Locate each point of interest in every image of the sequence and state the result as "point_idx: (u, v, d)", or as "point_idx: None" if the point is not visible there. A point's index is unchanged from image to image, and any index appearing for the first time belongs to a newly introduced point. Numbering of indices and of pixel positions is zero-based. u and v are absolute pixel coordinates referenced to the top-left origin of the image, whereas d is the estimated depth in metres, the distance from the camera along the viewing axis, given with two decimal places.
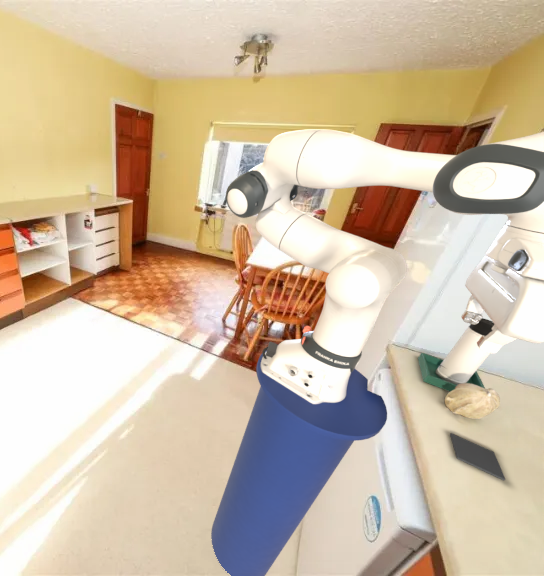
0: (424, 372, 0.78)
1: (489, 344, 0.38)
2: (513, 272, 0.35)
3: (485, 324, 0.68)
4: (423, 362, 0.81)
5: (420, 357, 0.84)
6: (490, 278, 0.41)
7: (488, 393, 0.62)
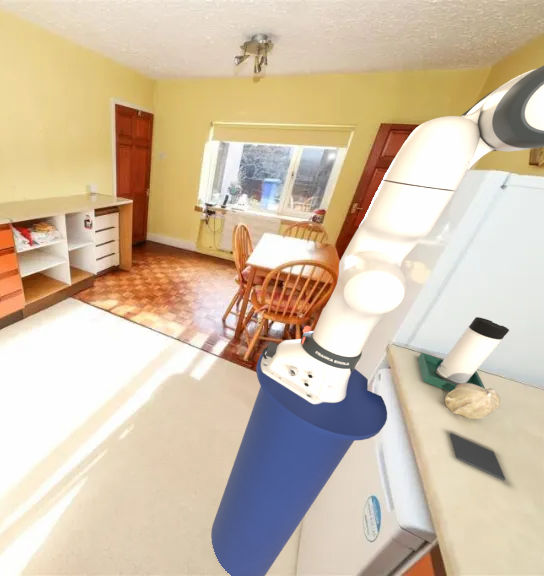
0: (424, 372, 0.78)
1: None
2: None
3: (485, 324, 0.68)
4: (423, 362, 0.81)
5: (420, 357, 0.84)
6: None
7: (488, 393, 0.62)
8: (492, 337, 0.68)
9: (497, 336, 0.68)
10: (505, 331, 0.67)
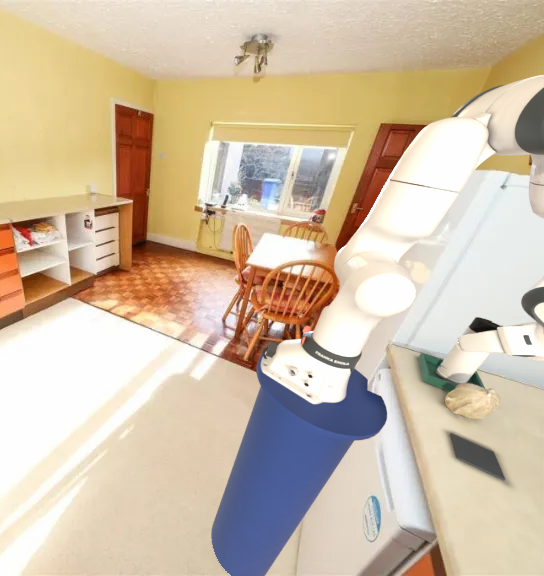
0: (424, 372, 0.78)
1: None
2: None
3: (485, 324, 0.68)
4: (423, 362, 0.81)
5: (420, 357, 0.84)
6: None
7: (488, 393, 0.62)
8: None
9: None
10: None
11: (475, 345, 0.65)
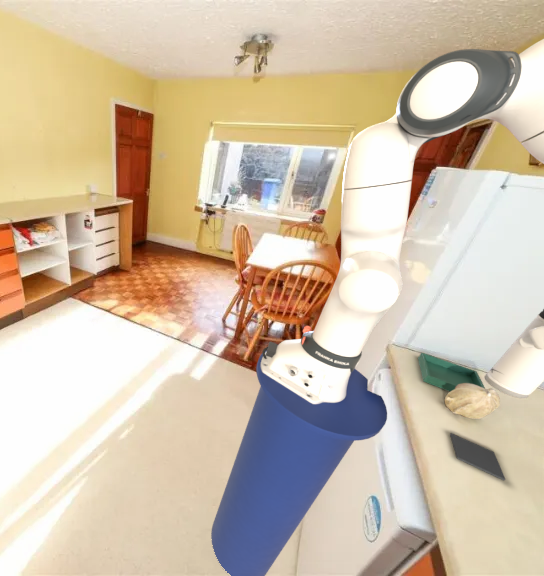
0: (424, 372, 0.78)
1: (528, 340, 0.51)
2: None
3: None
4: (423, 362, 0.81)
5: (420, 357, 0.84)
6: None
7: (488, 393, 0.62)
8: None
9: None
10: None
11: None
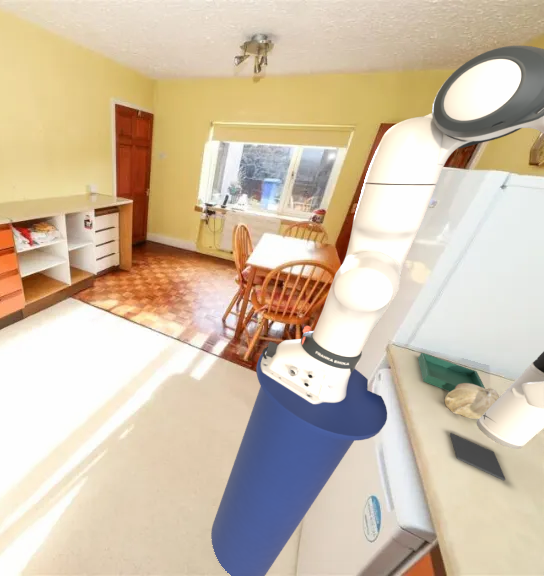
0: (424, 372, 0.78)
1: (521, 391, 0.48)
2: None
3: None
4: (423, 362, 0.81)
5: (420, 357, 0.84)
6: None
7: (488, 393, 0.62)
8: None
9: None
10: None
11: None
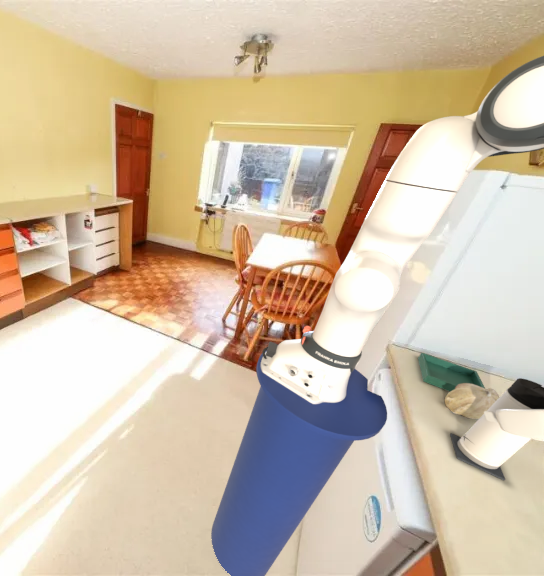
0: (424, 372, 0.78)
1: (492, 415, 0.51)
2: None
3: (534, 393, 0.47)
4: (423, 362, 0.81)
5: (420, 357, 0.84)
6: None
7: (488, 393, 0.62)
8: None
9: None
10: None
11: (524, 427, 0.44)
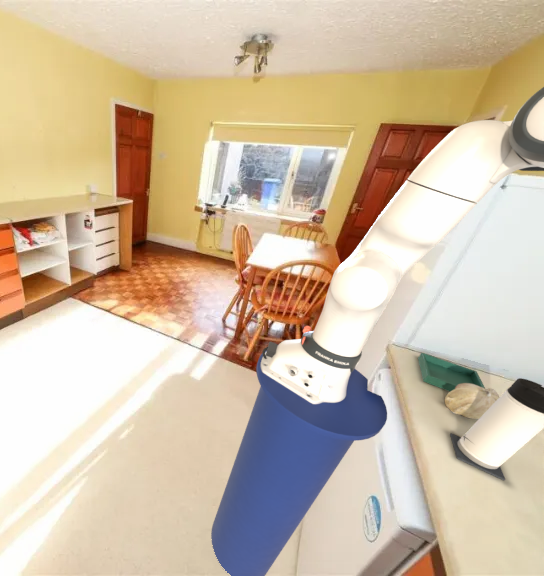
0: (424, 372, 0.78)
1: None
2: None
3: (534, 393, 0.47)
4: (423, 362, 0.81)
5: (420, 357, 0.84)
6: None
7: (488, 393, 0.62)
8: None
9: None
10: None
11: None
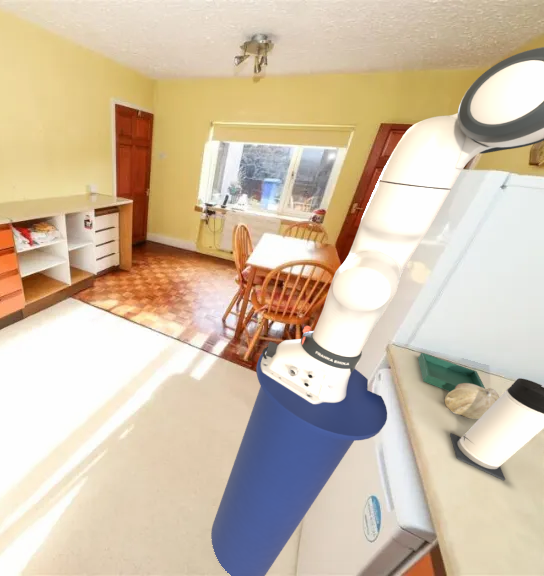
0: (424, 372, 0.78)
1: None
2: None
3: (534, 393, 0.47)
4: (423, 362, 0.81)
5: (420, 357, 0.84)
6: None
7: (488, 393, 0.62)
8: None
9: None
10: None
11: None
